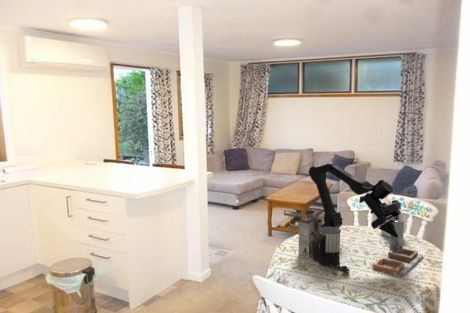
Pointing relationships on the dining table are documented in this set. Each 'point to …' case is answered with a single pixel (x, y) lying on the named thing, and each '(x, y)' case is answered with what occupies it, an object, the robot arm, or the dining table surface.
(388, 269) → the socket rail
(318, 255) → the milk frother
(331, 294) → the dining table surface
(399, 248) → the grey peg
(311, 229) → the coffee box
